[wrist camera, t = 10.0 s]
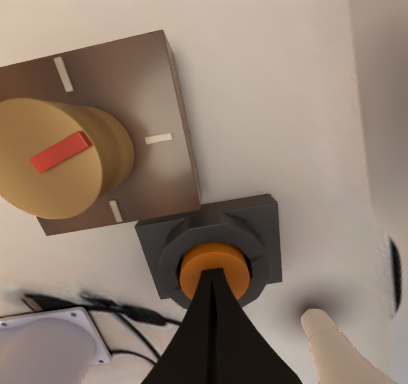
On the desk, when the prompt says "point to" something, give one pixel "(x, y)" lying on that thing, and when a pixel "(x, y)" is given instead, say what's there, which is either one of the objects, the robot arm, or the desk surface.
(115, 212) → the dimmer console
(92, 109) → the dimmer knob
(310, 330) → the lightbulb
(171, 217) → the switch block
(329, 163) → the desk surface
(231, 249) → the power button
